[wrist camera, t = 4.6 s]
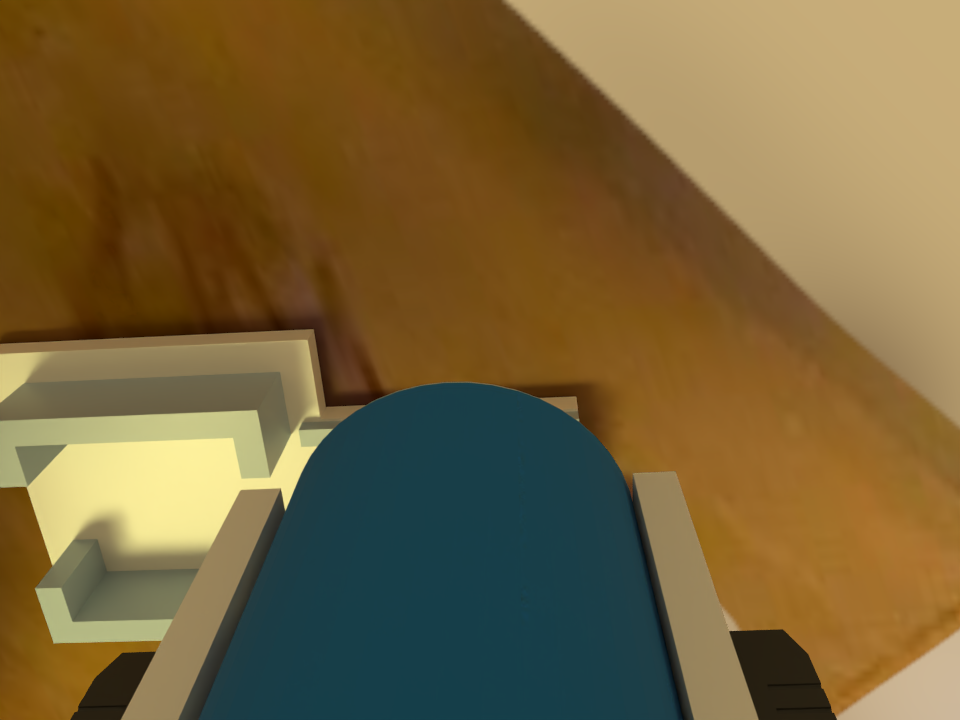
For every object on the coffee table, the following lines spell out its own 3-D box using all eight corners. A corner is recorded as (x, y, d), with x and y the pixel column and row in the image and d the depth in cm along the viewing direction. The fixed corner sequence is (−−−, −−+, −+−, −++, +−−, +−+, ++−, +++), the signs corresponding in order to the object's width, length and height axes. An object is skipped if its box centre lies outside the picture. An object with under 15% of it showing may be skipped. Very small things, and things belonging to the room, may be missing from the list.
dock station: (80, 599, 37) (32, 667, 33) (-2, 343, 32) (-69, 391, 28) (580, 585, 36) (587, 655, 32) (574, 316, 31) (582, 362, 27)
